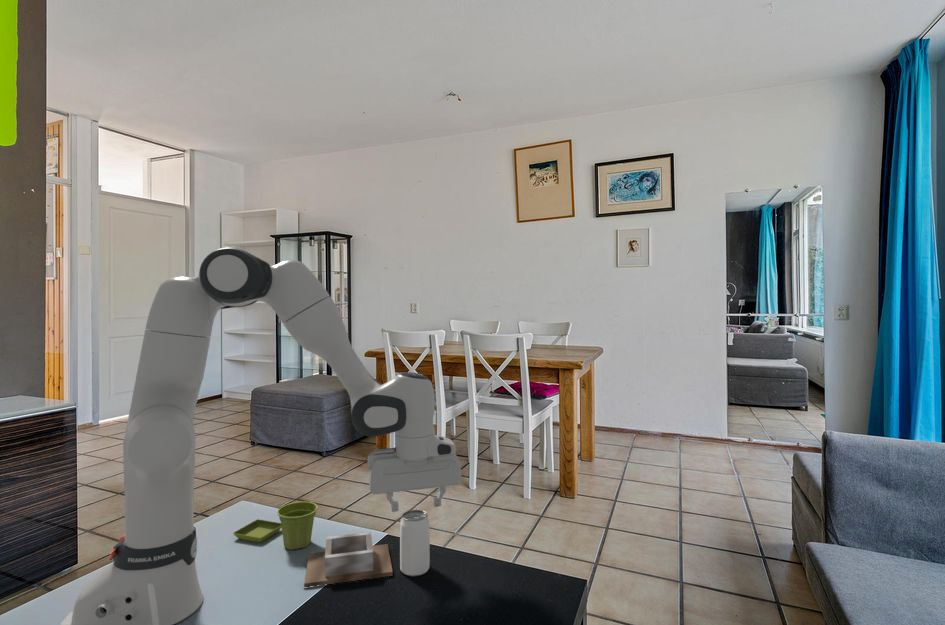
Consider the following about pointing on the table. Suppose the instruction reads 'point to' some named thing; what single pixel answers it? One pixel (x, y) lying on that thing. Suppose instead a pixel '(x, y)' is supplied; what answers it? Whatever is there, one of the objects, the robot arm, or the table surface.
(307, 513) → the plant pot
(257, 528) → the saucer
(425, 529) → the can
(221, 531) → the table surface
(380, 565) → the socket board
